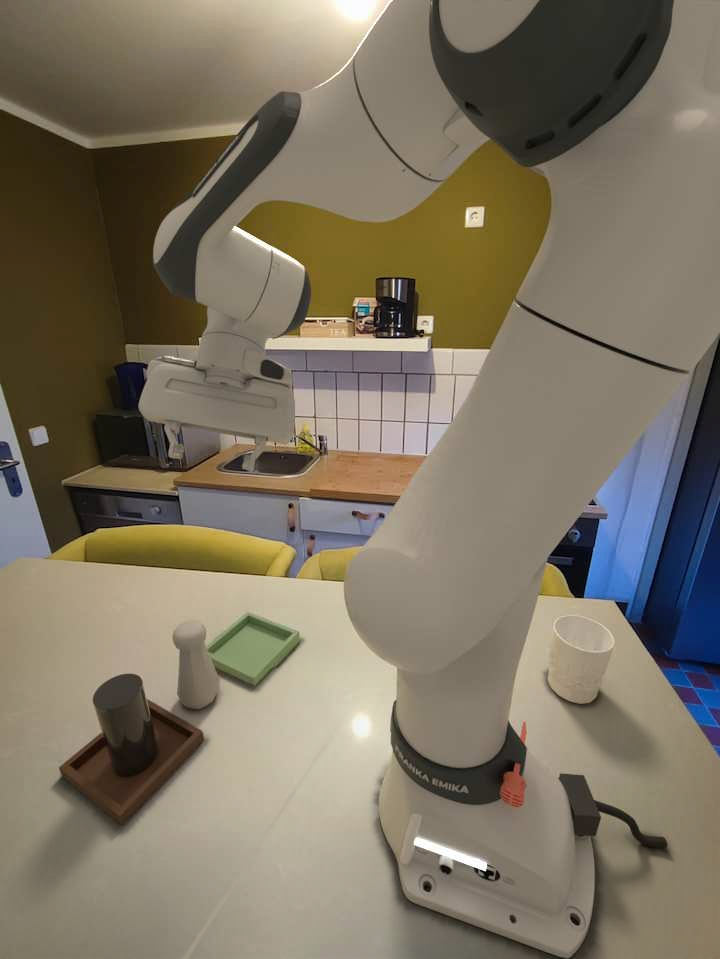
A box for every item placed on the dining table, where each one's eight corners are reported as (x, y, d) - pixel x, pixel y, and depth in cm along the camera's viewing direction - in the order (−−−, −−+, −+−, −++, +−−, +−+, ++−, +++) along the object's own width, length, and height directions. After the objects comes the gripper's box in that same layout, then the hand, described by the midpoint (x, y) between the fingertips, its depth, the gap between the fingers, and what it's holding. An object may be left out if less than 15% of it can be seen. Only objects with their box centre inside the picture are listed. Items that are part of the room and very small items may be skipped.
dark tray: (204, 742, 56) (202, 730, 56) (123, 829, 47) (119, 816, 46) (146, 707, 62) (144, 696, 61) (62, 779, 52) (58, 767, 51)
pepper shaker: (167, 748, 55) (152, 683, 51) (130, 785, 51) (110, 716, 47) (140, 731, 57) (124, 667, 53) (103, 765, 53) (82, 698, 49)
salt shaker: (208, 719, 60) (195, 645, 55) (171, 713, 61) (155, 639, 56) (228, 686, 65) (218, 616, 61) (194, 681, 66) (181, 611, 62)
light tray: (300, 641, 74) (299, 631, 73) (255, 689, 65) (253, 678, 64) (248, 620, 79) (247, 611, 79) (200, 662, 70) (198, 652, 69)
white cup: (607, 684, 65) (621, 631, 61) (591, 718, 60) (605, 661, 56) (554, 658, 70) (564, 607, 67) (535, 687, 65) (544, 633, 61)
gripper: (144, 341, 55) (120, 445, 52) (303, 373, 59) (288, 471, 56) (157, 361, 61) (136, 455, 58) (300, 389, 65) (286, 478, 62)
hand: (211, 463), depth 57 cm, fingers open, 8 cm apart
